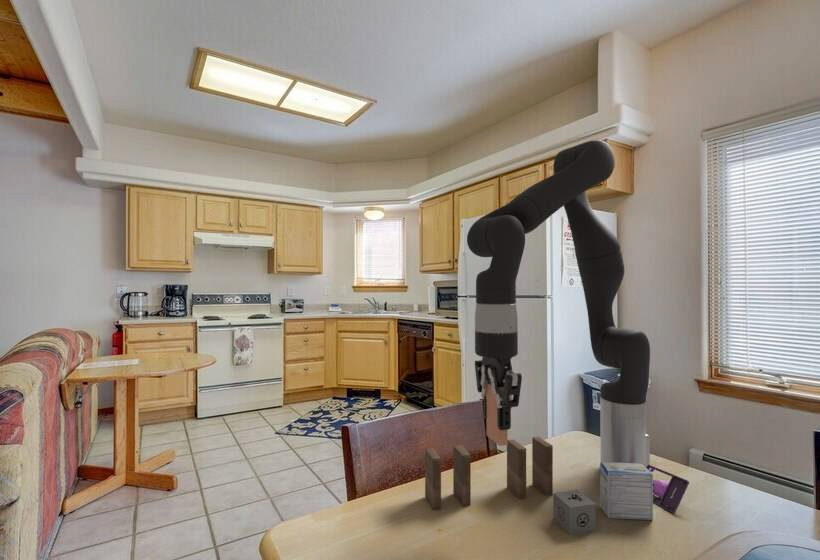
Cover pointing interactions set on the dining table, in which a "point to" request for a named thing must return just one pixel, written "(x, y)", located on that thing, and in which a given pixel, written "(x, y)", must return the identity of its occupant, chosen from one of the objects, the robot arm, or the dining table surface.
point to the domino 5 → (542, 465)
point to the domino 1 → (433, 478)
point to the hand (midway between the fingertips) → (496, 423)
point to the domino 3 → (494, 419)
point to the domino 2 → (462, 475)
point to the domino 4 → (516, 469)
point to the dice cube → (574, 512)
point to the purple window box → (669, 490)
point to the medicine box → (626, 491)
